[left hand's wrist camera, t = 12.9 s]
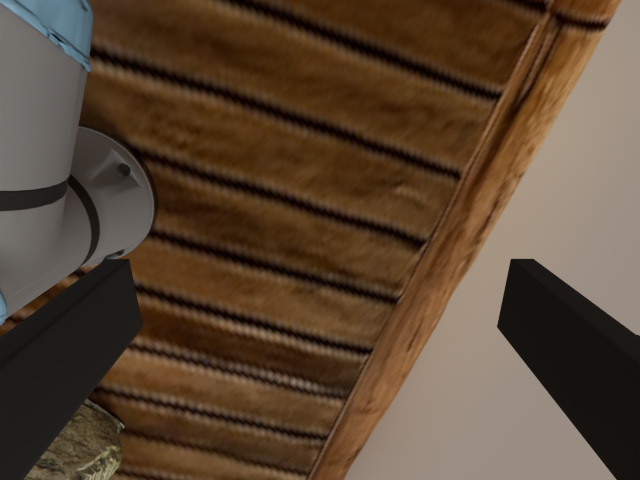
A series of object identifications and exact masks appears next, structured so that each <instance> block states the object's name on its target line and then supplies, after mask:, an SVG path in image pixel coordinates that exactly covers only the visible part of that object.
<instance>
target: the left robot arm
mask: <svg viewBox="0 0 640 480" xmlns="http://www.w3.org/2000/svg"><path fill="white" fill-rule="evenodd" d="M92 28H93V12H92V8H91V5H90V2H89V0H0V325H2V324H3V322H5V319H6V318H8V317H9V316H11V315H12V314H13V313H15V312H16V311H18V310H19V309H20V308H22V307H23V306H25V305H26V304H28V303H29V302H30V301H32V300H33V299H35V298H36V297H38V296H39V295H41V294H42V293H43V292H45V291H46V290H48V289H49V288H51V287H52V286H53V285H55V284H56V283H58V282H59V281H61V280H62V279H63V278H65V277H66V276H68V275H69V274H71V273H72V272H73V271H75V270H76V269H78V268H79V267H82V266H87V265H92V264H96V265H98V263H101V264H99V265H98V266H96V267H95V268H94V269H92V270H91V271H90V272H88V273H87V274H86V275H84V276H83V277H82V278H80V279H79V280H78V281H76V282H75V283H74V284H72V285H71V286H69V287H68V288H67V289H65V290H64V291H63V292H61V293H60V294H59V295H57V296H56V297H55V298H53V299H52V300H51V301H49V302H48V303H46V304H45V305H44V306H42V307H41V308H40V309H38V310H37V311H36V312H34V313H33V314H32V315H30V316H29V317H28V318H26V319H25V320H23V321H22V322H21V323H19V324H18V325H17V326H15V327H14V328H13V329H11V330H10V331H9V332H7V333H6V334H5V335H3V336H2V337H0V480H23V479H24V478H25V477H26V476H27V474H28V473H29V472H30V470H31V469H32V468H33V467H34V465H35V464H36V463H37V462H38V460H39V459H40V458H41V456H42V455H43V454H44V453H45V451H46V450H47V449H48V448H49V446H50V445H51V444H52V442H53V441H54V440H55V439H56V437H57V436H58V435H59V433H60V432H61V431H62V430H63V428H64V427H65V426H66V425H67V423H68V422H69V421H70V419H71V418H72V417H73V416H74V414H75V413H76V412H77V411H78V409H79V408H80V407H81V405H82V404H83V403H84V402H85V400H86V399H87V398H88V396H89V395H90V394H91V393H92V391H93V390H94V389H95V388H96V386H97V385H98V384H99V382H100V381H101V380H102V379H103V377H104V376H105V375H106V374H107V372H108V371H109V370H110V368H111V367H112V366H113V365H114V363H115V362H116V361H117V359H118V358H119V357H120V356H121V354H122V353H123V352H124V351H125V349H126V348H127V347H128V345H129V344H130V343H131V342H132V340H133V339H134V338H135V337H136V335H137V334H138V333H139V331H140V330H141V329H142V328H143V325H142V320H141V315H140V310H139V305H138V301H137V296H136V291H135V286H134V281H133V276H132V271H131V266H130V261H129V259H117V258H120V257H122V256H124V255H126V254H128V253H130V252H131V251H133V250H134V249H135V248H136V247H138V246H139V245H140V244H141V243H142V242H143V241H144V240H145V239H146V238H147V237H148V235H149V234H150V232H151V231H152V229H153V227H154V224H155V221H156V217H157V211H158V199H157V193H156V189H155V185H154V182H153V180H152V177H151V175H150V173H149V171H148V170H147V168H146V166H145V165H144V163H143V162H142V160H141V159H140V158H139V157H138V155H137V154H136V153H135V152H134V151H133V150H132V149H131V148H129V147H128V146H127V145H126V144H125V143H123V142H122V141H121V140H119V139H118V138H116V137H114V136H113V135H111V134H109V133H107V132H104V131H102V130H99V129H96V128H93V127H89V126H83V125H79V120H80V114H81V109H82V103H83V97H84V92H85V86H86V81H87V75H88V72H91V69H92V67H91V63H90V62H89V55H90V46H91V37H92ZM92 266H94V265H92ZM88 267H89V266H88ZM497 327H498V329H499V330H500V331H501V333H502V334H503V335H504V337H505V338H506V339H507V340H508V342H509V343H510V344H511V345H512V347H513V348H514V349H515V351H516V352H517V353H518V354H519V356H520V357H521V358H522V359H523V361H524V362H525V363H526V365H527V366H528V367H529V368H530V370H531V371H532V372H533V374H534V375H535V376H536V377H537V379H538V380H539V381H540V382H541V384H542V385H543V386H544V388H545V389H546V390H547V391H548V393H549V394H550V395H551V396H552V398H553V399H554V400H555V402H556V403H557V404H558V405H559V407H560V408H561V409H562V411H563V412H564V413H565V414H566V416H567V417H568V418H569V419H570V421H571V422H572V423H573V425H574V426H575V427H576V428H577V430H578V431H579V432H580V433H581V435H582V436H583V437H584V439H585V440H586V441H587V442H588V444H589V445H590V446H591V447H592V449H593V450H594V451H595V453H596V454H597V455H598V456H599V458H600V459H601V460H602V462H603V463H604V464H605V465H606V467H607V468H608V469H609V470H610V472H611V473H612V474H613V476H614V477H615V478H616V479H617V480H640V336H639V335H635V334H634V333H633V332H631V331H630V330H629V329H627V328H626V327H625V326H623V325H622V324H621V323H619V322H618V321H616V320H615V319H614V318H612V317H611V316H610V315H608V314H607V313H606V312H604V311H603V310H602V309H600V308H599V307H598V306H596V305H595V304H593V303H592V302H591V301H589V300H588V299H587V298H585V297H584V296H583V295H581V294H580V293H579V292H577V291H576V290H575V289H573V288H572V287H571V286H569V285H568V284H566V283H565V282H564V281H562V280H561V279H560V278H558V277H557V276H556V275H554V274H553V273H552V272H550V271H549V270H548V269H546V268H545V267H544V266H542V265H541V264H539V263H538V262H537V261H535V260H534V259H511V261H510V266H509V271H508V276H507V281H506V286H505V291H504V296H503V301H502V305H501V310H500V315H499V320H498V325H497Z"/></svg>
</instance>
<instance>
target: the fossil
mask: <svg viewBox="0 0 640 480" xmlns="http://www.w3.org/2000/svg"><path fill="white" fill-rule="evenodd" d="M123 428H124V425H123V424H122V423H121V422H120V421H119V420H118V419H116V418H115V417H113V416H112V415H111V414H109V413H108V412H107V411H105V410H104V409H102V408H101V407H100V406H98V405H97V404H94V403H92V402H91V401H90V400H89V399H86V400H85V402H84V403H83V404H82V405H81V407H80V408H79V409H78V411H77V412H76V413H75V414H74V416H73V417H72V418H71V419H70V421H69V422H68V423H67V425H66V426H65V427H64V428H63V430H62V431H61V432H60V433H59V435H58V436H57V437H56V439H55V440H54V441H53V442H52V444H51V445H50V446H49V448H48V449H47V450H46V451H45V453H44V454H43V455H42V456H41V458H40V459H39V460H38V462H37V463H36V464H35V465H34V467H33V468H32V469H31V470H30V472H29V473H28V474H27V476H26V477H25V478H24V479H23V480H108V479H109V478H110V477H111V475H112V474H113V473H114V472H115V471H116V469H117V468H118V466H119V465H120V461H121V455H122V454H121V443H120V440H119V437H118V436H119V434H120V431H121V430H122V429H123Z"/></svg>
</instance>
